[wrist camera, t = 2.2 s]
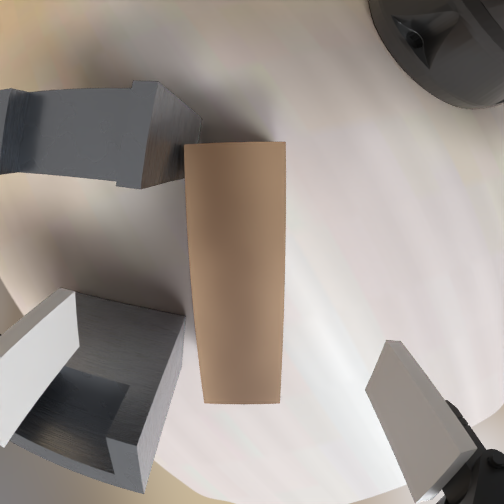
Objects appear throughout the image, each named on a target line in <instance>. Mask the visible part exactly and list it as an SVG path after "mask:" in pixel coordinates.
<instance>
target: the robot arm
mask: <svg viewBox="0 0 504 504" xmlns="http://www.w3.org/2000/svg"><path fill="white" fill-rule="evenodd" d="M369 5H370V10H371V15H372V18H373V21H374V23H375V26H376V28H377V30H378V33H379V35H380V37H381V38H382V40H383V42H384V44H385V45H386V47H387V48H388V50H389V51H390V53H391V54H392V56H393V57H394V58H395V60H396V61H397V62H398V63H399V65H400V66H401V67H402V68H403V69H404V70H405V71H406V73H407V74H408V75H409V76H410V77H411V78H412V79H413V80H415V81H416V82H417V83H418V84H419V85H420V86H421V87H423V88H424V89H425V90H427V91H428V92H429V93H431V94H432V95H434V96H435V97H437V98H439V99H440V100H442V101H444V102H446V103H448V104H451V105H453V106H456V107H460V108H465V109H480V108H487V107H494V106H497V105H500V104H502V103H504V0H369ZM79 347H80V346H79V337H78V326H77V315H76V300H75V291H72V290H68V289H64V288H59V289H58V290H57V291H55V292H54V293H53V294H51V295H50V296H49V297H48V298H46V299H45V300H44V301H42V302H41V303H40V304H39V305H37V306H36V307H35V308H34V309H32V310H31V311H30V312H29V313H27V314H26V315H25V316H24V317H23V318H21V319H20V320H19V321H18V322H16V323H15V324H14V325H13V326H12V327H10V328H9V329H8V330H7V331H6V332H5V333H3V334H2V335H1V334H0V445H1V446H2V447H5V446H6V444H7V443H8V441H9V440H10V438H11V437H12V435H13V434H14V432H15V431H16V430H17V428H18V427H19V425H20V424H21V422H22V421H23V420H24V418H25V417H26V416H27V414H28V413H29V411H30V410H31V409H32V407H33V406H34V405H35V403H36V402H37V400H38V399H39V398H40V396H41V395H42V394H43V392H44V391H45V390H46V388H47V387H48V386H49V385H50V383H51V382H52V381H53V379H54V378H55V377H56V375H57V374H58V373H59V372H60V370H61V369H62V368H63V366H64V365H65V364H66V363H67V361H68V360H69V359H70V358H71V356H72V355H73V354H74V353H75V351H76V350H77V349H78V348H79ZM365 391H366V393H367V395H368V397H369V399H370V401H371V404H372V406H373V408H374V410H375V412H376V414H377V417H378V419H379V421H380V423H381V425H382V428H383V430H384V432H385V434H386V437H387V439H388V441H389V443H390V446H391V448H392V450H393V452H394V455H395V457H396V459H397V462H398V464H399V466H400V469H401V471H402V473H403V476H404V478H405V480H406V483H407V485H408V487H409V490H410V492H411V495H412V497H413V499H414V502H415V503H420V502H424V501H427V500H431V499H433V498H434V497H435V496H436V495H437V494H438V493H439V492H440V491H441V490H443V492H444V494H445V495H444V496H443V498H441V499H440V500H439V501H438V502H437V503H436V504H504V454H503V453H502V452H499V451H498V450H495V449H489V450H486V449H485V448H484V446H483V445H482V443H481V442H480V440H479V439H478V437H477V436H476V434H475V433H474V432H473V430H472V429H471V427H470V426H469V425H468V423H467V421H466V420H465V419H464V418H463V416H462V414H461V413H460V412H459V410H458V409H457V408H456V407H455V406H454V405H453V404H451V403H450V402H449V401H448V400H444V398H443V397H442V396H441V394H440V393H439V392H438V390H437V389H436V387H435V386H434V385H433V383H432V382H431V381H430V379H429V378H428V376H427V375H426V374H425V372H424V371H423V370H422V368H421V367H420V366H419V364H418V363H417V362H416V360H415V359H414V358H413V356H412V355H411V354H410V353H409V351H408V350H407V349H406V347H405V346H404V345H403V343H402V342H401V341H391V340H386V342H385V344H384V347H383V349H382V352H381V354H380V357H379V359H378V362H377V364H376V366H375V369H374V371H373V373H372V375H371V378H370V380H369V382H368V384H367V387H366V389H365Z"/></svg>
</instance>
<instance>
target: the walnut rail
mask: <svg viewBox="0 0 504 504" xmlns="http://www.w3.org/2000/svg"><path fill="white" fill-rule="evenodd" d="M184 167H185V195H186V217H187V235H188V250H189V264H190V277H191V289H192V301H193V311H194V322H195V331H196V341H197V349H198V358H199V366H200V374H201V382H202V389H203V397H204V403H210V404H276V403H280V389H281V369H282V346H283V319H284V284H285V230H286V142H224V143H201V144H184Z"/></svg>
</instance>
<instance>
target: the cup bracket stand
mask: <svg viewBox="0 0 504 504" xmlns="http://www.w3.org/2000/svg"><path fill="white" fill-rule="evenodd" d="M201 123H202V118H201V117H200V116H199V115H197V114H196V113H195V112H194V111H193V110H192V109H190V108H189V107H188V106H187V105H186V104H185V103H183V102H182V101H181V100H180V99H179V98H178V97H176V96H175V95H174V94H173V93H172V92H170V91H169V90H168V89H167V88H166V87H164V86H163V85H162V84H161V83H160V82H158V81H133V84H132V88H84V89H63V90H49V91H38V92H26V91H21V90H16V89H12V88H10V89H4V90H0V175H1V174H8V173H16V172H23V173H36V174H48V175H59V176H70V177H80V178H90V179H99V180H108V181H117V182H116V186H119V187H127V188H134V189H143V188H147V187H151V186H155V185H158V184H162V183H166V182H170V181H174V180H178V179H182V178H185V167H184V144H198V140H199V134H200V128H201ZM75 300H76V315H77V326H78V337H79V346H80V347H79V348H78V349H77V350H76V351H75V353H74V354H73V355H72V356H71V358H70V359H69V360H68V361H67V363H66V364H65V365H64V366H63V368H62V369H61V370H60V372H59V373H58V374H57V375H56V377H55V378H54V379H53V381H52V382H51V383H50V385H49V386H48V387H47V388H46V390H45V391H44V392H43V394H42V395H41V396H40V398H39V399H38V400H37V402H36V403H35V405H34V406H33V407H32V409H31V410H30V411H29V413H28V414H27V416H26V417H25V418H24V420H23V421H22V422H21V424H20V425H19V427H18V428H17V430H16V431H15V432H14V434H13V435H12V437H11V438H10V440H9V441H11V442H13V443H14V444H16V445H18V446H20V447H22V448H24V449H26V450H28V451H30V452H32V453H34V454H36V455H38V456H40V457H42V458H44V459H46V460H49V461H51V462H53V463H55V464H57V465H60V466H62V467H64V468H67V469H69V470H72V471H74V472H77V473H80V474H82V475H85V476H87V477H90V478H93V479H96V480H99V481H102V482H104V483H108V484H111V485H114V486H117V487H120V488H124V489H127V490H131V491H135V492H138V493H142V494H144V492H145V489H146V485H147V482H148V478H149V474H150V471H151V467H152V464H153V460H154V457H155V453H156V450H157V446H158V443H159V440H160V436H161V433H162V429H163V426H164V423H165V419H166V416H167V413H168V409H169V406H170V403H171V399H172V396H173V393H174V390H175V386H176V383H177V380H178V377H179V374H180V370H181V367H182V355H183V343H184V331H185V320H186V316H182V315H177V314H171V313H166V312H161V311H156V310H151V309H147V308H142V307H137V306H133V305H128V304H123V303H119V302H115V301H110V300H106V299H102V298H98V297H93V296H89V295H85V294H81V293H77V292H75Z"/></svg>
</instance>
